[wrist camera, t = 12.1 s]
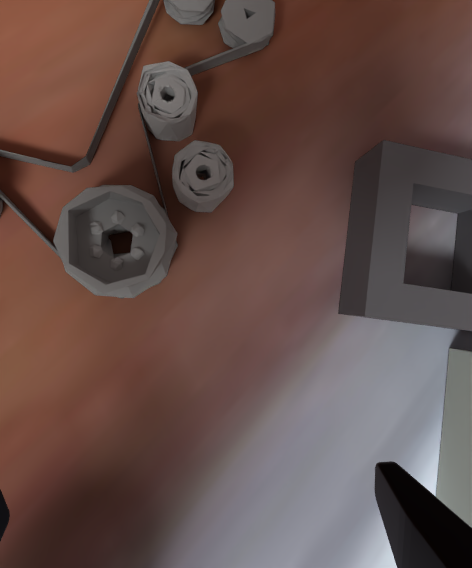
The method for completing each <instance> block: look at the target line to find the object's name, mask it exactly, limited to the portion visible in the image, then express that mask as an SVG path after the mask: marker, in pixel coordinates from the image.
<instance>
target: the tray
mask: <svg viewBox="0 0 472 568" xmlns="http://www.w3.org/2000/svg"><path fill="white" fill-rule="evenodd" d="M436 497H437V498H438V499H439V500H440V501H441V502H442V503H444V504H445V505H446V506H447V507H448V508H449V509H450V510H452V511H453V512H454V513H455V514H456V515H457V516H459V517H460V518H461V519H462V520H463V521H464V522H466V523H467V524H468V525H469V526H470V527H471V528H472V351H468V350H460V349H452V348H449V358H448V369H447V381H446V392H445V403H444V414H443V425H442V436H441V447H440V458H439V469H438V480H437V491H436Z"/></svg>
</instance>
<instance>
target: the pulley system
mask: <svg viewBox="0 0 472 568" xmlns="http://www.w3.org/2000/svg"><path fill="white" fill-rule="evenodd" d="M159 1H160V0H149V3H148V5H147V8H146V10H145V12H144V15H143V17H142V20H141V22H140V25H139V27H138V30H137V32H136V34H135V37H134V39H133V42H132V44H131V47H130V49H129V52H128V54H127V56H126V59H125V61H124V64H123V66H122V69H121V71H120V74H119V76H118V78H117V81H116V83H115V86H114V88H113V91H112V93H111V96H110V98H109V101H108V103H107V105H106V108H105V110H104V113H103V115H102V118H101V120H100V123H99V125H98V127H97V130H96V132H95V135H94V137H93V140H92V142H91V145H90V147H89V149H88V152H87V154H86V156H85V157H84V158H83V159H81V160H80V161H78V162H77V163H76V164H74V165H73V166H71V167H70V166H66V165H62V164H58V163H53V162H49V161H45V160H41V159H37V158H33V157H28V156H24V155H20V154H16V153H12V152H8V151H3V150H0V156H2V157H6V158H10V159H15V160H19V161H24V162H28V163H33V164H37V165H42V166H46V167H51V168H55V169H60V170H64V171H68V172H76V171H78V170H80V169H82V168H84V167H86V166H88V165H90V163H91V161H92V158H93V156H94V154H95V151H96V149H97V147H98V144H99V142H100V140H101V137H102V135H103V133H104V130H105V128H106V125H107V123H108V121H109V118H110V116H111V114H112V111H113V109H114V107H115V104H116V102H117V100H118V97H119V95H120V93H121V90H122V88H123V85H124V83H125V81H126V78H127V76H128V74H129V71H130V69H131V67H132V64H133V62H134V60H135V57H136V55H137V53H138V50H139V48H140V45H141V43H142V41H143V38H144V36H145V34H146V31H147V29H148V27H149V24H150V22H151V20H152V17H153V15H154V13H155V10H156V8H157V5H158V3H159ZM163 1H164V5H165V8H166V12H167V13H168V14H169V15H170V16H171V17H172V18H174V19H175V20H176V21H177V22H179V23H180V24H193V25H203V24H204V22H205V21H206V20H207V19H208V18H209V16H210V15H211V14H212V13H213V10H214V3H215V0H163ZM221 13H222V17H221V19H220V21H219V22H218V25H219V28H220V31H221V34H222V38H223V41H224V43H225V44H227V45H228V46H230V47H232V48H233V49H231V50H228V51H226V52H223V53H220V54H218V55H215V56H213V57H210V58H208V59H205V60H203V61H200V62H198V63H195V64H193V65H190V66H188V67H185V68H182V67H180V66H178V65H176V64H174V63H171V62H169V61H167V62H162V63H157V64H151V65H146V66H143V70H142V75H141V79H140V83H139V87H138V92H137V96H138V100H139V103H138V107H139V112H140V116H141V120H142V124H143V128H144V131H145V135H146V139H147V143H148V147H149V151H150V155H151V159H152V163H153V167H154V171H155V175H156V178H157V182H158V186H159V190H160V194H161V198H162V201H163V205H164V209H165V210H164V209H163V208H162V207H161V206H160V205H159V203H158V202H157V200H156V198H155V197H154V196H153V195H151V194H149V193H147V192H145V191H143V190H140V189H138V188H136V187H134V186H132V185H102V186H100V187H94V188H86V189H85V190H84V191H83V192H81V193H80V194H79V195H78V196H76V197H75V198H74V199H73V200H71V201H70V202H69V203H68V204H66V205H65V206H64V207H63V209H62V212H61V215H60V219H59V222H58V226H57V229H56V233H55V236H54V239H53V242H54V244H55V246H56V247H55V246H54V245H53V244H52V243H51V242H50V241H49V240H48V239H47V238H46V237H45V236H44V235H43V234H42V233H41V231H40V230H39V229H38V228H37V227H36V226H35V225H34V224H33V223H32V222H31V221H30V220H29V219H28V218H27V217H26V216H25V215H24V214H23V213H22V212H21V211H20V210H19V209H18V208H17V207H16V206H15V205H14V204H13V203H12V201H11V200H10V199H9V198H8V197H7V196H6V195H5V194H4V193H3V192H2V191H1V190H0V216H1V213H2V209H3V200H4V201H5V202H6V203H7V204H8V205H9V206H10V207H11V208H12V209H13V210H14V211H15V213H16V214H17V215H18V216H19V217H20V218H21V219H22V220H23V221H24V222H25V223H26V224H27V225H28V226H29V227H30V228H31V229H32V230H33V231H34V232H35V233H36V234H37V235H38V236H39V237H40V238H41V239H42V240H43V241H44V242H45V243H46V244H47V245H48V246H49V247H50V248H51V249H52V250H53V251H54V252H55V253H56V254H57V255H58V256H59V257H60V258H61V260H62V262H63V264H64V268H65V271H66V272H67V273H68V274H69V275H71V276H72V277H73V278H74V279H76V280H77V281H78V282H79V283H81V284H82V285H83V286H84V287H86V288H87V289H88V290H89V291H91V292H92V293H93V294H94V295H100V296H113V297H118V298H125V297H126V298H134V297H136V296H137V295H139V294H140V293H142V292H143V291H145V290H146V289H148V288H149V287H152V286H154V285H157V284H159V283H160V282H161V280H162V279H163V278H165V277H166V276H167V273H168V269H169V265H170V262H171V259H172V257H173V255H174V252H175V250H176V248H177V246H178V244H177V242H176V238H177V232H176V230H175V229H174V227H173V226H172V224H171V222H170V221H169V218H168V214H167V210H166V206H165V201H164V197H163V193H162V189H161V185H160V181H159V177H158V173H157V169H156V165H155V161H154V158H153V154H152V150H151V146H150V142H149V138H148V134H147V130H146V126H145V123H146V125H147V127H148V129H149V130H150V131H151V132H152V134H153V135H154V136H155V138H156V139H159V140H166V141H167V140H170V141H181V140H183V139H185V138H187V137H189V136H190V135H192V133H193V129H194V124H195V119H196V108H197V96H198V92H197V89H196V86H195V84H194V81H193V79H192V77H191V76H192V75H195V74H197V73H200V72H203V71H205V70H208V69H211V68H213V67H216V66H219V65H221V64H224V63H227V62H229V61H232V60H235V59H237V58H240V57H243V56H247V55H249V54H251V53H253V52H256V51H259V50H261V49H263V48H264V47H265V46H267V45H269V40H270V39H271V37H272V36H273V31H274V21H275V2H273V1H272V0H226V1H225V3H224V5H223V7H222V9H221ZM144 121H145V122H144ZM199 177H203V178H204V179H205V180H200V179H199ZM172 180H173V188H174V191H175V193H176V195H177V198H178V200H179V202H180V203H182V204H183V205H185V206H186V207H188V208H189V209H191V210H193V211H195V212H212V211H213V210H214V209H215V208H216V207H217V206H218V205H219V204H220V203H221V202H222V201H223V200H224V199H225V198H226V197H227V196H228V195H229V193H230V192H231V190H232V189H233V187H234V181H233V163H232V161H231V159H230V157H229V156H228V155H227V153H226V152H225V151H224V150H223V148H222V147H221V146H220V145H217V144H214V143H210V142H204V141H197V140H194V141H193V142H191V143H190V144H188V145H187V146H186V147H185V148H183V149H182V150H180V151H179V152H178V153H177V154H176V155H175V156H174V164H173V168H172ZM2 199H3V200H2ZM129 231H130V232H131V233H132V234H133V237H132V244H131V251H130V253H122V254H114V255H113V250H112V245H111V240H110V239H108V237H109V235H111V234H117V233H123V232H129Z"/></svg>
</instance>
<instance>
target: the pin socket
mask: <svg viewBox="0 0 472 568" xmlns="http://www.w3.org/2000/svg"><path fill="white" fill-rule="evenodd" d="M411 205H417V206H422V207H427V208H432V209H437V210H443V211H448V212H453V213H458V221H457V232H456V243H455V254H454V265H453V276H452V287H451V291H450V290H443V289H437V288H430V287H423V286H417V285H410V284H404V283H403V282H404V272H405V262H406V252H407V241H408V231H409V221H410V211H411ZM338 314H344V315H352V316H360V317H367V318H375V319H382V320H390V321H397V322H405V323H412V324H420V325H428V326H435V327H443V328H450V329H458V330H465V331H472V159H467V158H463V157H458V156H454V155H449V154H445V153H440V152H436V151H431V150H427V149H422V148H418V147H413V146H409V145H404V144H400V143H395V142H391V141H386V140H383V141H381V142H380V143H379V144H377V145H376V146H375V147H374V148H372V149H371V150H370V151H368V152H367V153H366V154H365V155H363V156H362V157H361V158H359V159H358V160H357V161H356V162H355V168H354V177H353V186H352V195H351V204H350V213H349V222H348V231H347V240H346V249H345V259H344V268H343V277H342V286H341V295H340V304H339V313H338Z"/></svg>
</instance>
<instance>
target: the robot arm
mask: <svg viewBox="0 0 472 568" xmlns="http://www.w3.org/2000/svg"><path fill="white" fill-rule="evenodd" d="M375 496H376V501H377V504H378V507H379V510H380V514H381V517H382V520H383V523H384V526H385V530H386V533H387V536H388V539H389V542H390V546H391V549H392V552H393V555H394V559H395V562H396V565H397V568H472V528H471V527H470V526H469V525H468V524H467V523H466V522H464V521H463V520H462V519H461V518H460V517H459V516H457V515H456V514H455V513H454V512H453V511H452V510H450V509H449V508H448V507H447V506H446V505H445V504H444V503H442V502H441V501H440V500H439V499H438V498H437V497H435V496H434V495H433V494H432V493H431V492H430V491H428V490H427V489H426V488H425V487H424V486H423V485H421V484H420V483H419V482H418V481H417V480H416V479H414V478H413V477H412V476H411V475H410V474H409V473H407V472H406V471H405V470H404V469H403V468H402V467H400V466H399V465H398V464H397V463H395V462H379V463H377V464H376V467H375ZM9 516H10V514H9V509H8V507H7V504H6V502H5V499H4V497H3V494H2V492H1V490H0V541H1V538H2V536H3V534H4V531H5V529H6V527H7V524H8V521H9Z"/></svg>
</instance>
